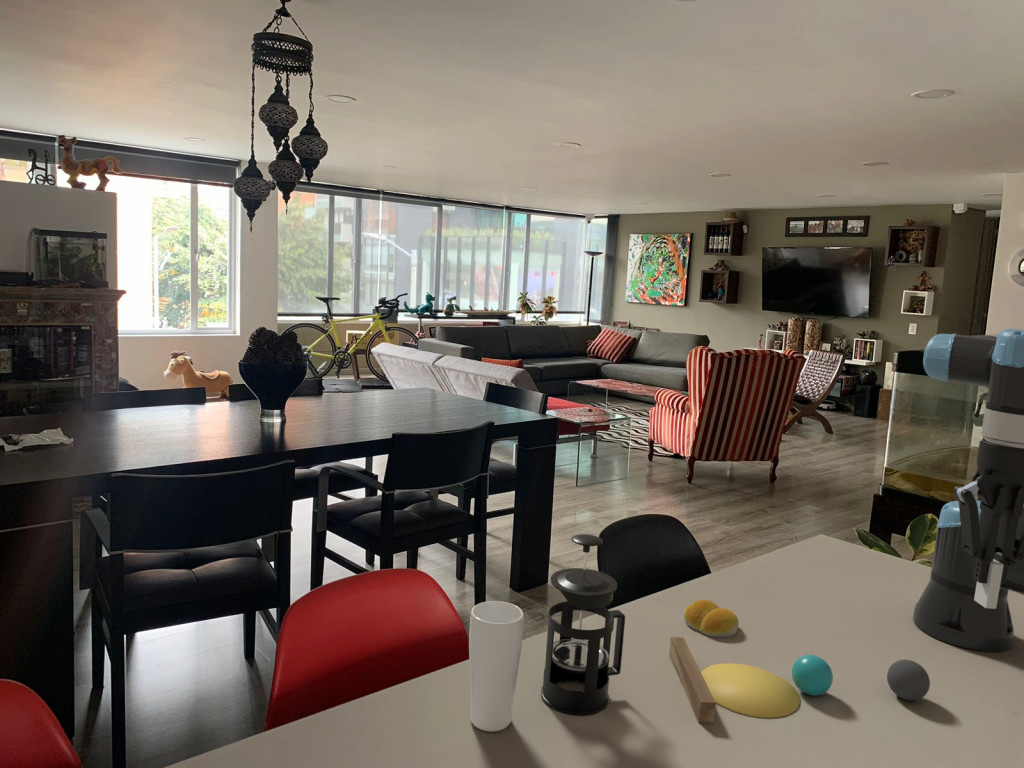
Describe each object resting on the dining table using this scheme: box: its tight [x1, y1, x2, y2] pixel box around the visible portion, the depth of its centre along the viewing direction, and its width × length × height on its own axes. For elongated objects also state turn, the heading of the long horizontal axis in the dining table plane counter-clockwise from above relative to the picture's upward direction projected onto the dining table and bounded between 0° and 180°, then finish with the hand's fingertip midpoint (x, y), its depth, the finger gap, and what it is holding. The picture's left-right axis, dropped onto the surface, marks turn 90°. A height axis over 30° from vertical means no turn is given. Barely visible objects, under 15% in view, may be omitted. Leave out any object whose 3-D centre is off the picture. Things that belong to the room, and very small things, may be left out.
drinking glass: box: [468, 600, 524, 733], centre depth 97 cm, size 7×7×15 cm
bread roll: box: [683, 599, 739, 638], centre depth 130 cm, size 8×9×4 cm
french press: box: [540, 533, 626, 717], centre depth 104 cm, size 12×9×23 cm
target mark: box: [700, 662, 801, 719], centre depth 110 cm, size 14×14×1 cm
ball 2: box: [886, 659, 931, 701], centre depth 110 cm, size 6×6×6 cm
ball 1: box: [791, 654, 834, 697], centre depth 110 cm, size 6×6×6 cm
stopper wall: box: [668, 636, 717, 725], centre depth 110 cm, size 2×18×3 cm, turn 1°
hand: (984, 604), depth 109 cm, fingers closed
